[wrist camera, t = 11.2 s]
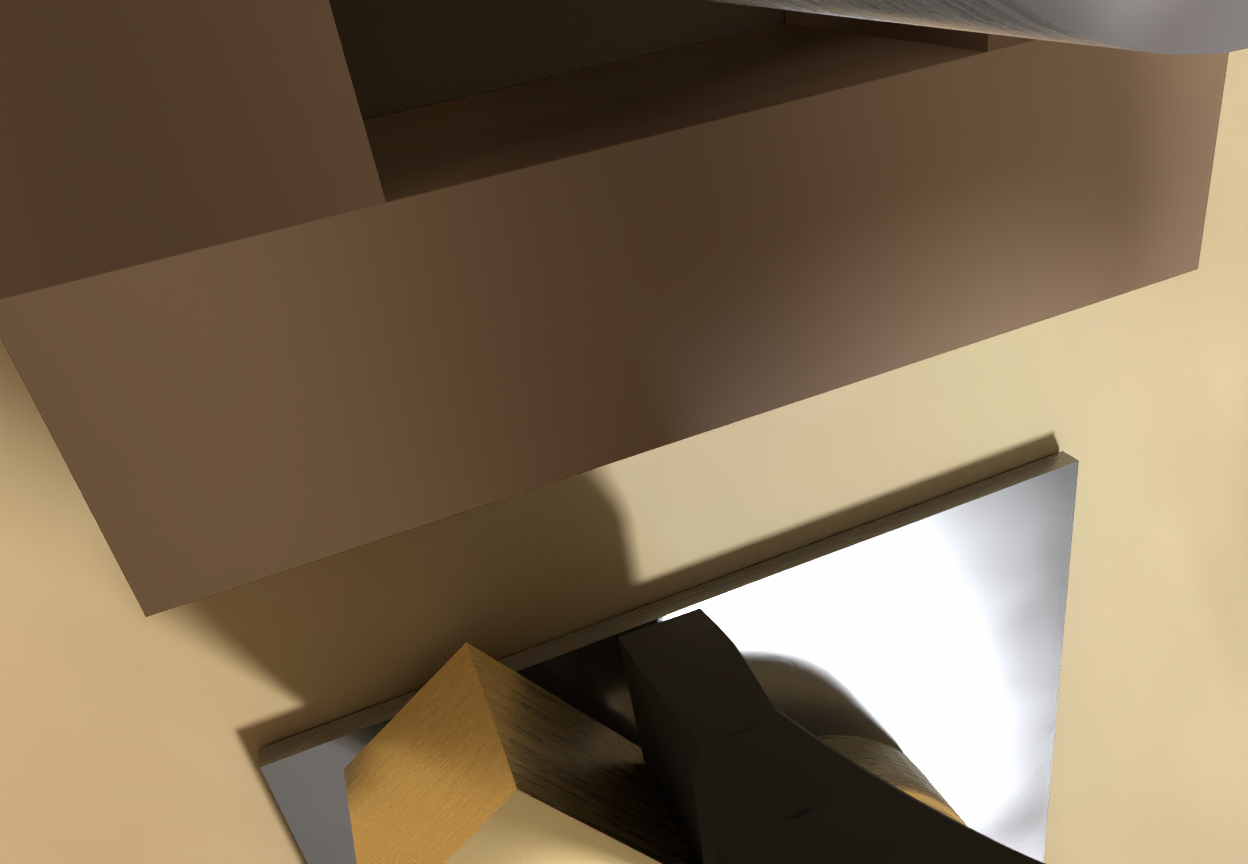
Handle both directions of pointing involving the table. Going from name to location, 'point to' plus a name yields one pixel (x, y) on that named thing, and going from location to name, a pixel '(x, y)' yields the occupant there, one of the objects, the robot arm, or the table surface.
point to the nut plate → (833, 656)
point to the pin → (1060, 20)
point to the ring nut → (528, 779)
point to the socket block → (526, 252)
